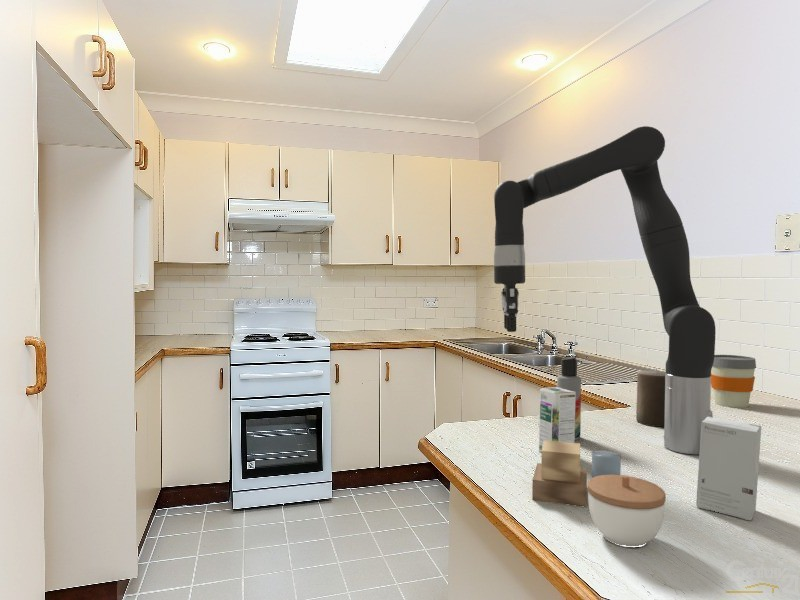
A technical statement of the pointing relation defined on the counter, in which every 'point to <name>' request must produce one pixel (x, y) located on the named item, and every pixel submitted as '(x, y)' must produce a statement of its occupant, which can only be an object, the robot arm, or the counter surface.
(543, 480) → the walnut slab
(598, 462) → the blue rounded cylinder
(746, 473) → the skincare box
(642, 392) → the pillar candle
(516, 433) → the counter surface
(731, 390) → the reusable coffee cup
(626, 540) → the lidded jar
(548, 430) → the syrup box
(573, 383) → the lotion bottle
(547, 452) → the oak block
